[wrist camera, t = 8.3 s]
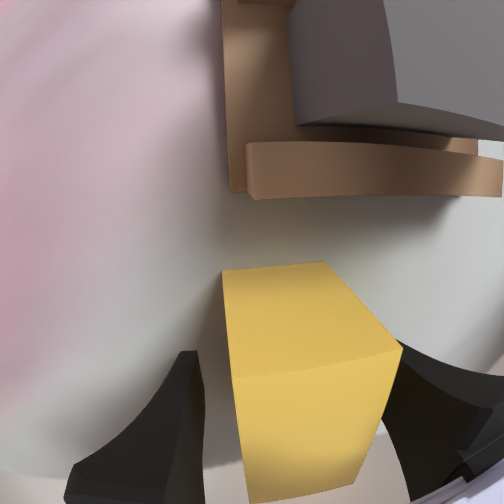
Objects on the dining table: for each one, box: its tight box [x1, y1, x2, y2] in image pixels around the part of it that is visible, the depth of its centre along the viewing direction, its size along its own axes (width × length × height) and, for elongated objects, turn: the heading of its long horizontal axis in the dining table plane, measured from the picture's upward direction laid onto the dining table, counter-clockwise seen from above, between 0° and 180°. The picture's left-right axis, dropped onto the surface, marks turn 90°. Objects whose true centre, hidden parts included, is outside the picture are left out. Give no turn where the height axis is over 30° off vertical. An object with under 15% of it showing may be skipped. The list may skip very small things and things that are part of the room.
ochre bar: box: [222, 261, 403, 504], centre depth 10 cm, size 7×4×6 cm, turn 3°
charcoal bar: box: [286, 0, 504, 142], centre depth 6 cm, size 7×4×6 cm, turn 94°
